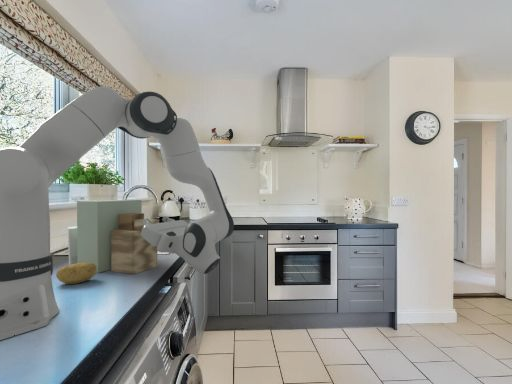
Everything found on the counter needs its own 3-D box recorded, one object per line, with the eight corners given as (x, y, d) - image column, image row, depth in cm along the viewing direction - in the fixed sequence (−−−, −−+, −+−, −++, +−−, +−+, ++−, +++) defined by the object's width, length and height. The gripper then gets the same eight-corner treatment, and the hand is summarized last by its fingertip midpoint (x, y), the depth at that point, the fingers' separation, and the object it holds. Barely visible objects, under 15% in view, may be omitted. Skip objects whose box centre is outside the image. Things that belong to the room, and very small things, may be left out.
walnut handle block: (149, 232, 101) (148, 215, 101) (118, 229, 108) (118, 214, 108) (161, 230, 107) (161, 214, 107) (131, 227, 114) (131, 212, 114)
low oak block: (132, 274, 101) (131, 232, 101) (111, 270, 106) (111, 230, 106) (157, 266, 112) (157, 228, 112) (137, 263, 116) (137, 226, 116)
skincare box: (91, 261, 120) (90, 224, 120) (93, 264, 115) (93, 226, 115) (67, 264, 115) (67, 226, 115) (69, 268, 110) (68, 228, 110)
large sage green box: (97, 272, 103) (97, 201, 103) (77, 269, 108) (76, 201, 108) (141, 260, 121) (141, 199, 121) (122, 258, 126) (122, 199, 126)
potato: (95, 283, 91) (95, 263, 91) (53, 288, 87) (53, 267, 87) (97, 277, 97) (97, 259, 97) (58, 281, 93) (58, 262, 93)
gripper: (202, 228, 108) (177, 210, 113) (162, 236, 89) (135, 213, 94) (195, 242, 109) (171, 223, 114) (155, 253, 91) (128, 229, 96)
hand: (154, 219), depth 104 cm, fingers open, 8 cm apart
